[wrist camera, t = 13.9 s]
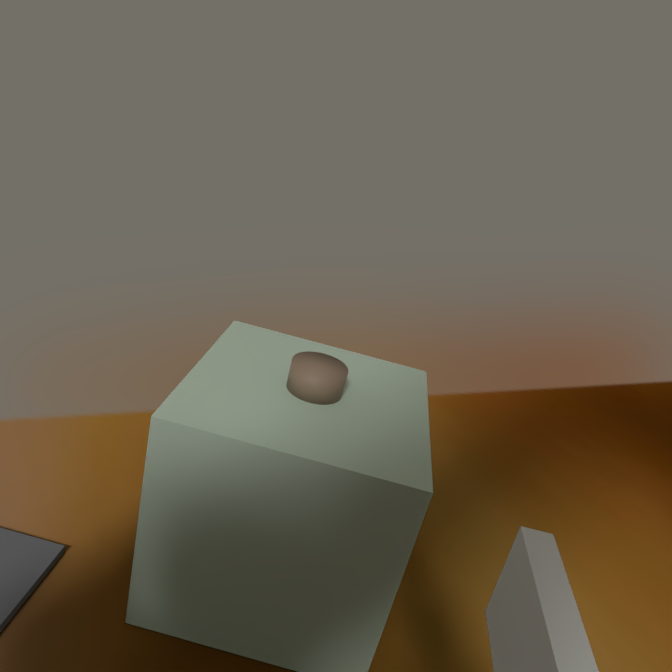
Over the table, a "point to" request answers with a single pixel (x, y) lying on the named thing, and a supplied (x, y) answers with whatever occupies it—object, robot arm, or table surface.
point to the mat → (22, 569)
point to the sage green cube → (282, 501)
